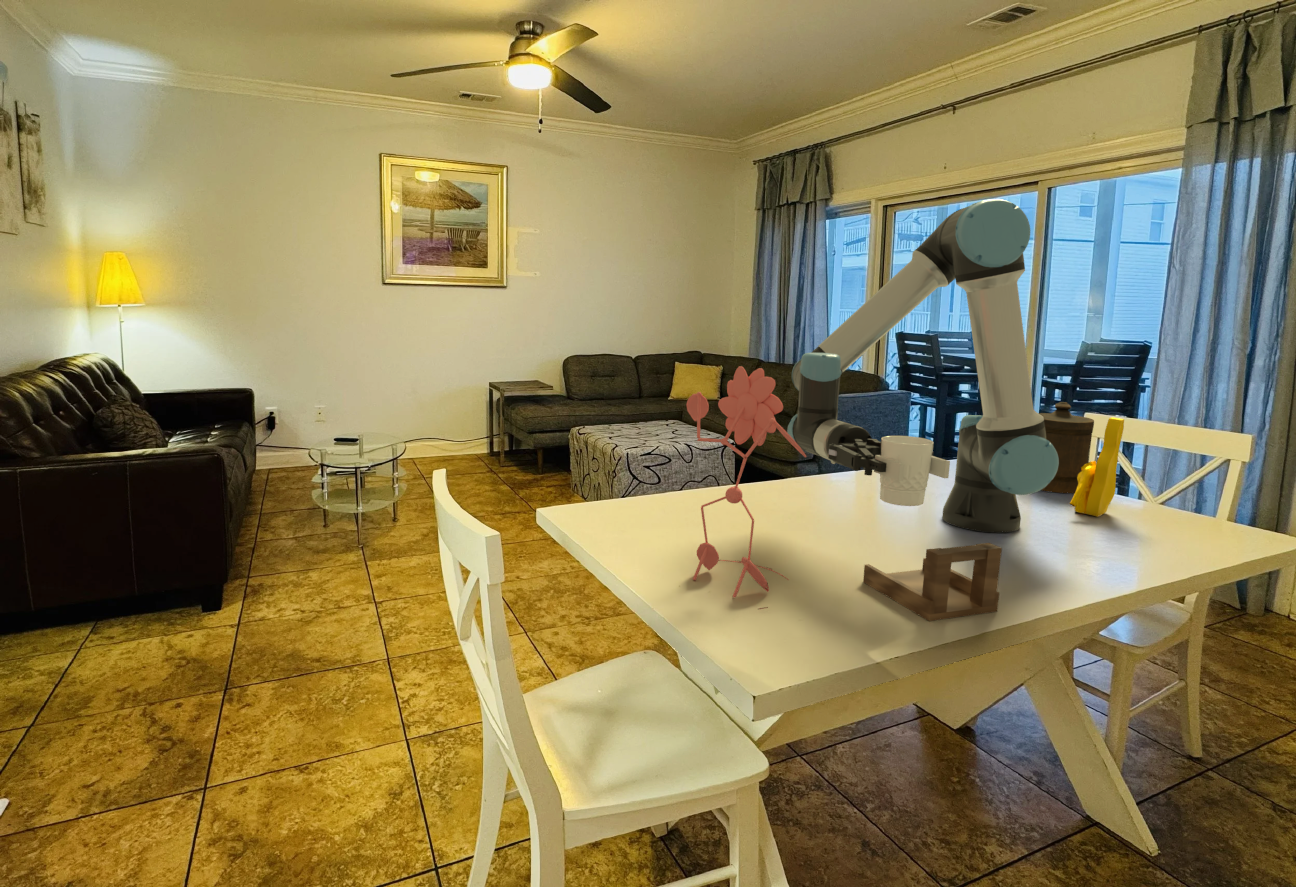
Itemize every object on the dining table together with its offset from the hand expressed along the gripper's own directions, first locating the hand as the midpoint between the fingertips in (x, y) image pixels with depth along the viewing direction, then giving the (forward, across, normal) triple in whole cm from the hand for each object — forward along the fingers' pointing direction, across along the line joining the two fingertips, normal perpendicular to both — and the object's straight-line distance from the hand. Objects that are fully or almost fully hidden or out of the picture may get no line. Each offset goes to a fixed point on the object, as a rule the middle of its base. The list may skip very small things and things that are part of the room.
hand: (924, 471), depth 115 cm
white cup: (-5, 0, -6) cm, 8 cm away
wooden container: (-53, -82, -20) cm, 100 cm away
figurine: (-12, +24, -20) cm, 34 cm away
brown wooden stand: (+1, -2, -20) cm, 20 cm away
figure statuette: (-30, -70, -20) cm, 79 cm away
